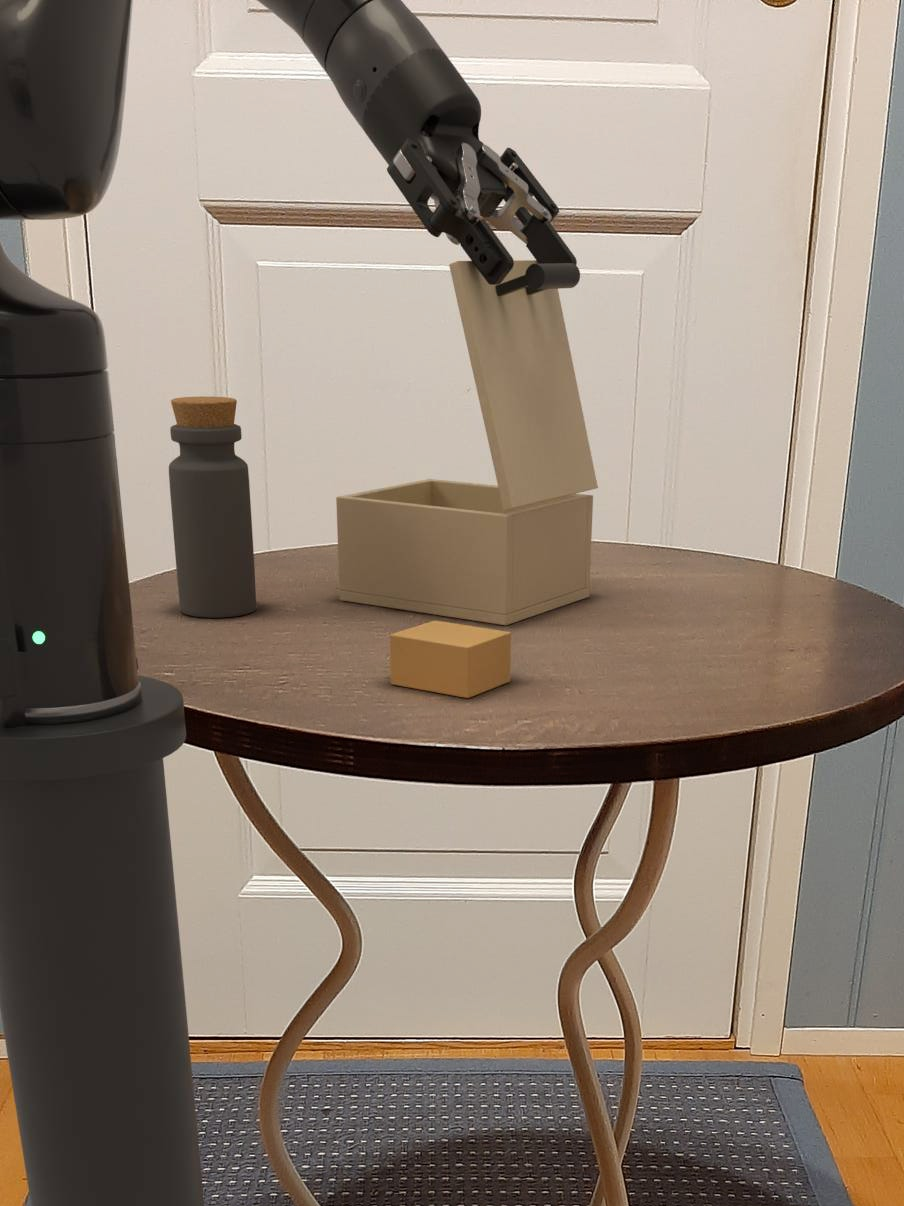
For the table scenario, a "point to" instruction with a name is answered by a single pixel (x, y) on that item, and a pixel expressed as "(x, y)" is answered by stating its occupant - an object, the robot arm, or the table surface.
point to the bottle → (211, 510)
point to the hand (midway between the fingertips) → (536, 275)
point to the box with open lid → (463, 551)
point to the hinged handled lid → (526, 379)
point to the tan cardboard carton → (450, 658)
